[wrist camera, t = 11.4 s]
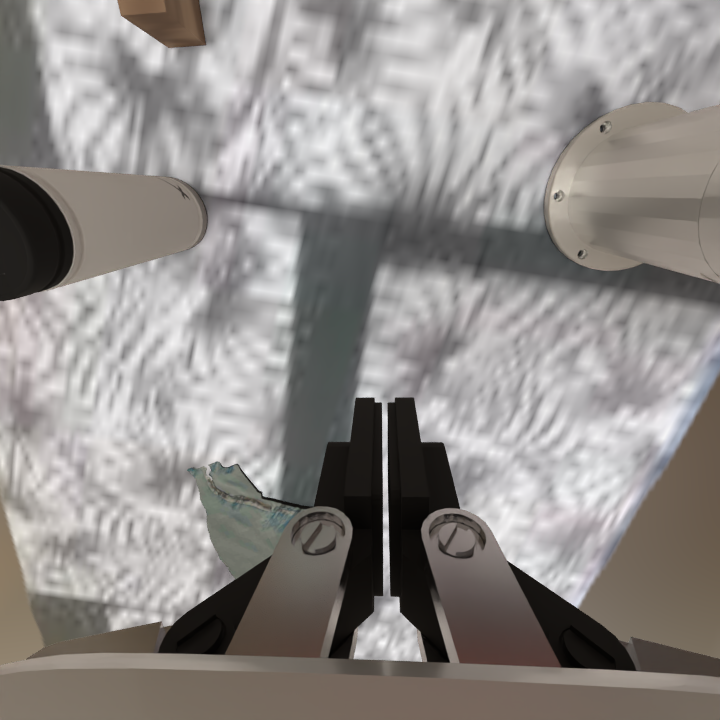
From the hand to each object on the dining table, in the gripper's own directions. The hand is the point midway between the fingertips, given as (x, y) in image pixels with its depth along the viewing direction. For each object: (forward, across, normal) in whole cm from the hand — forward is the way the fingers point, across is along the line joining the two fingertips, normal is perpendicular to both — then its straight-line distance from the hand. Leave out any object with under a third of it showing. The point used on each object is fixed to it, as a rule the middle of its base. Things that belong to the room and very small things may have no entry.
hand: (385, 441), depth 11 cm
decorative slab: (+28, +15, +36) cm, 48 cm away
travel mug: (+27, +19, -6) cm, 34 cm away
